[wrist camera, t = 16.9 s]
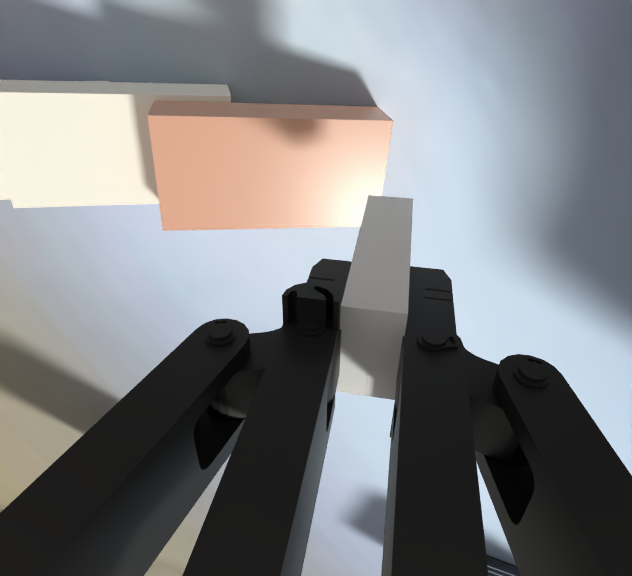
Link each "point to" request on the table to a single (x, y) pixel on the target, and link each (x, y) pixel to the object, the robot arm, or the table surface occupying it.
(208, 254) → the table surface
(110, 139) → the domino
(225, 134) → the domino
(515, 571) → the small box
